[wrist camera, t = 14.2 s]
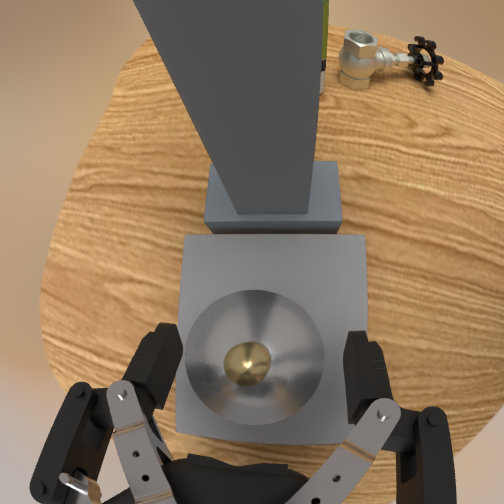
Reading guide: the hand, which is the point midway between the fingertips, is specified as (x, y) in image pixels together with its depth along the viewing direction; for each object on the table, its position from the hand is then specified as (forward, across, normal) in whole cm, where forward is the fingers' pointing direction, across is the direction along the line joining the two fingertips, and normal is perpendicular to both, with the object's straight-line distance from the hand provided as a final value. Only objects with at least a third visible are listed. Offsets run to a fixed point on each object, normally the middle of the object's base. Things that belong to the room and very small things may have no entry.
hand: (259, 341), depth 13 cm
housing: (+5, 0, +6) cm, 7 cm away
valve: (+26, -13, -13) cm, 32 cm away
